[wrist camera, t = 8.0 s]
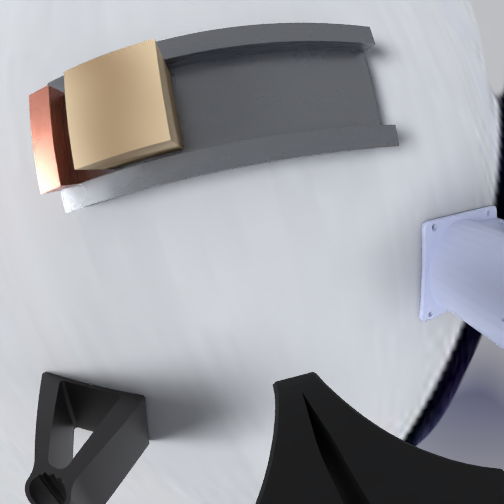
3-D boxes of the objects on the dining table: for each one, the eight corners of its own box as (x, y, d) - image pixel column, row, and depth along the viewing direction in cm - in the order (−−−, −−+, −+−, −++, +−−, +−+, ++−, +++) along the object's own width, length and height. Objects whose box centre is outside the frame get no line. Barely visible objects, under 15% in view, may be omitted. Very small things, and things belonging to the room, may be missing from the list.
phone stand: (59, 418, 19) (19, 516, 7) (44, 370, 18) (-19, 477, 6) (149, 440, 20) (136, 556, 9) (145, 395, 19) (120, 536, 7)
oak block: (169, 73, 13) (154, 38, 8) (183, 149, 14) (170, 140, 10) (100, 94, 12) (63, 71, 8) (111, 169, 14) (74, 169, 9)
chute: (351, 41, 14) (386, 13, 10) (376, 147, 16) (420, 144, 12) (66, 92, 13) (28, 74, 9) (84, 206, 15) (46, 219, 11)
